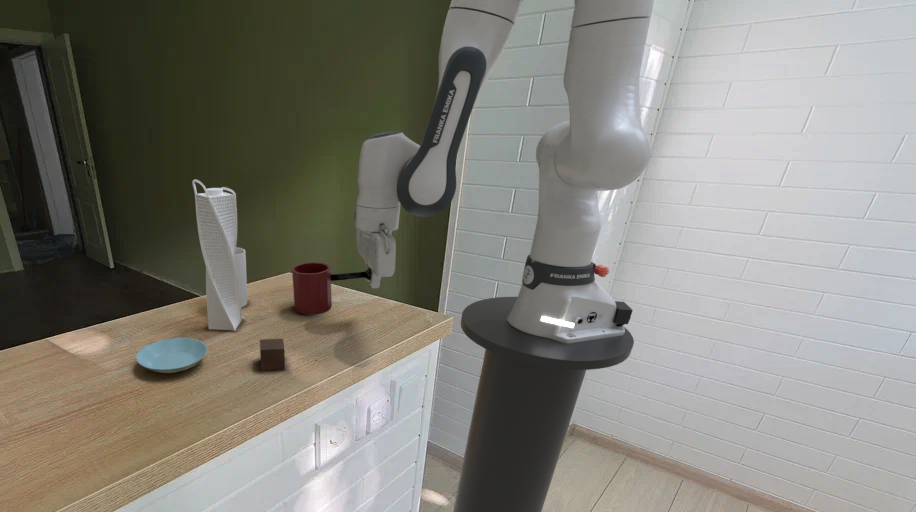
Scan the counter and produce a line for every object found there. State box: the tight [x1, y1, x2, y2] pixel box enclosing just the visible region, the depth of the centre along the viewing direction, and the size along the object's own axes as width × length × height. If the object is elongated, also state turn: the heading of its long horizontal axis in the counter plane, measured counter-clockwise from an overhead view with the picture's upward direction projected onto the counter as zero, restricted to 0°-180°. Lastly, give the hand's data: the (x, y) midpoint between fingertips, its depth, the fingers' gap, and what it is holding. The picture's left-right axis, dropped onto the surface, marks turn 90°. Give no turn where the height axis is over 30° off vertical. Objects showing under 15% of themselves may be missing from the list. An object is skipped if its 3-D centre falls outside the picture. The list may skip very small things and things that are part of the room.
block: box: [259, 338, 286, 372], centre depth 82 cm, size 4×4×4 cm
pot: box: [291, 261, 372, 316], centre depth 104 cm, size 18×8×9 cm, turn 96°
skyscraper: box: [191, 178, 243, 332], centre depth 91 cm, size 8×8×28 cm
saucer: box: [135, 337, 208, 374], centre depth 83 cm, size 12×12×2 cm
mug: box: [234, 246, 248, 308], centre depth 104 cm, size 10×7×12 cm, turn 169°
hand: (372, 283), depth 104 cm, fingers closed on pot, 3 cm apart
